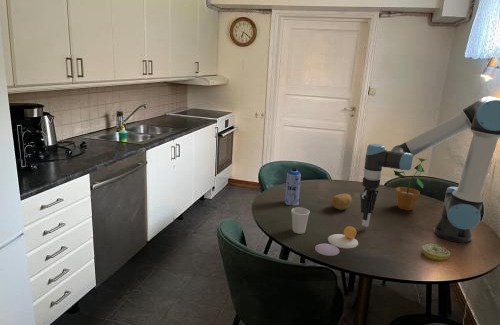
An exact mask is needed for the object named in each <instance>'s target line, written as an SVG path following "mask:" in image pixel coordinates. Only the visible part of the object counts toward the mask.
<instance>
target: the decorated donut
mask: <svg viewBox="0 0 500 325" xmlns="http://www.w3.org/2000/svg"><path fill="white" fill-rule="evenodd" d="M421 252H422V254H423V255H424V256H425V257H426V258H427V259H429V260H432V261H436V262H444V261H447V260H448V259H449V258H450V257H451V252H450V251H449V250H448V249H447V248H445V247H444V246H442V245H439V244H435V243H426V244H423V245H422V248H421Z"/></svg>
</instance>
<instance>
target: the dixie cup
mask: <svg viewBox="0 0 500 325" xmlns="http://www.w3.org/2000/svg"><path fill="white" fill-rule="evenodd" d="M290 210H291V223H292V224H291V225H292V231H293V233H295V234H297V235H298V234H299V235H300V234H305V232H306V228H307V224H308V219H309V215H310V213H311V211H310V210H309V209H308V208H305V207H301V206H300V207H299V206H298V207H297V206H296V207H293V208H292V209H290Z"/></svg>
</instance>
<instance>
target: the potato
mask: <svg viewBox="0 0 500 325" xmlns="http://www.w3.org/2000/svg"><path fill="white" fill-rule="evenodd" d="M352 200H353V198H352V196H351V195H350V194H349V193H339V194H337V195H334V196H333V197H332V198H331V200H330V204H331V206H332V207H333V208H335V209H337V210H346V209H348V208H349V207H350V206H351V204H352Z"/></svg>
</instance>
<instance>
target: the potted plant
mask: <svg viewBox="0 0 500 325" xmlns="http://www.w3.org/2000/svg"><path fill="white" fill-rule="evenodd" d="M413 158H414V159H416V156H413ZM417 159H418V161H420V163H419V164H417V165H416V166H414V169H415V170H416V172H415V173H414V174H413V176H412V177H411V179H410V180H409V179H408V178H407V176H406V174H405V170H401V171H399V170H396V169H395V170H394V169H393V172H394V176H396V177H399V178H402V179H406V180H407V182H408V186H397V187H395V193H396V202H397V207H398V208H399V209H401V210H403V209H404V210H405V211H412V209H413V208H414V206H415V204H416V201H417V199H418V197H419V195H420V193H421V191H420V190H418V189H416V188H414V187H413V188H412V187H410V185H411V183H412V180H413V179H415V181H414V183H415V184H416V185H418V186H419V187H421V188H422V189H424V188H425V185H426V182H424V181H423V180H421V179H419V176H420V175H421V173H424V172H425V170H424V168H423V165H422V164H423V162H424V161H428V159H425V158H420V157H417ZM418 172H419V173H418ZM401 173H402V174H401ZM417 173H418V175H417V177H416V176H415V175H416V174H417ZM403 174H404V175H403Z"/></svg>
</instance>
